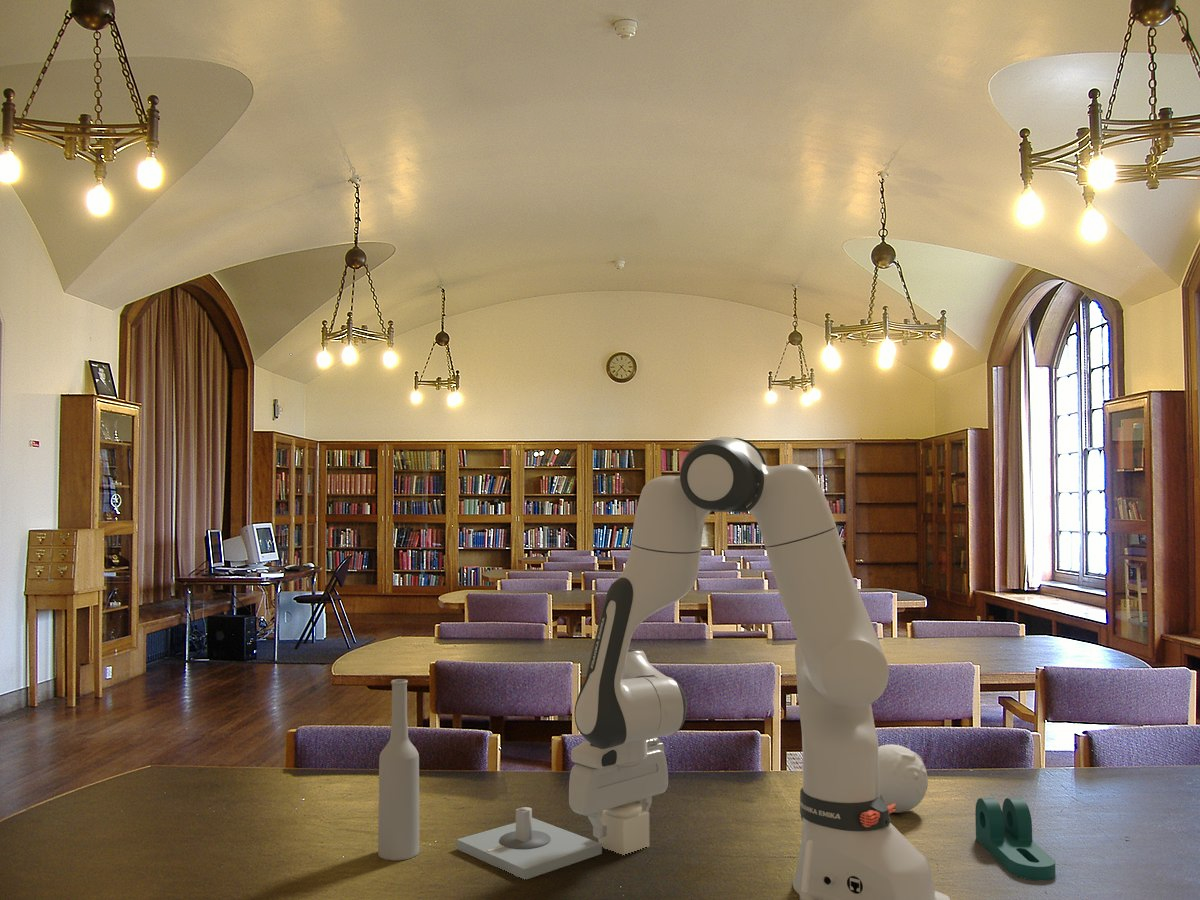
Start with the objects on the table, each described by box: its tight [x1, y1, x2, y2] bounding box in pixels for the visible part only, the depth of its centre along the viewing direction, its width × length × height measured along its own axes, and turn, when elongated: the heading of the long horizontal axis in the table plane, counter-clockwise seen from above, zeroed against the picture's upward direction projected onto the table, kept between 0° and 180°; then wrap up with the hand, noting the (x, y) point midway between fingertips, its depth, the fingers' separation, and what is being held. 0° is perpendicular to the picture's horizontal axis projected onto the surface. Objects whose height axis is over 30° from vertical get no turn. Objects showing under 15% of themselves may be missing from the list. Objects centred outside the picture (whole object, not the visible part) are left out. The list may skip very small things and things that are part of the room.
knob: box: [597, 800, 650, 856], centre depth 165 cm, size 6×6×7 cm
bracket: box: [974, 797, 1056, 881], centre depth 159 cm, size 18×7×8 cm, turn 179°
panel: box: [456, 806, 603, 881], centre depth 163 cm, size 18×16×7 cm
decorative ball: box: [878, 743, 929, 814], centre depth 183 cm, size 12×12×12 cm
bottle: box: [377, 678, 420, 862], centre depth 163 cm, size 7×7×28 cm
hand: (620, 830), depth 165 cm, fingers open, 8 cm apart
